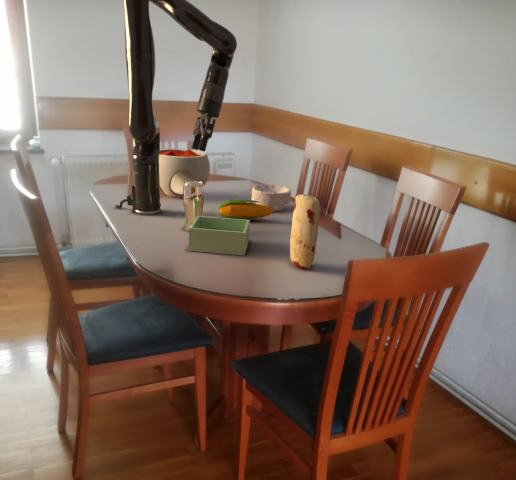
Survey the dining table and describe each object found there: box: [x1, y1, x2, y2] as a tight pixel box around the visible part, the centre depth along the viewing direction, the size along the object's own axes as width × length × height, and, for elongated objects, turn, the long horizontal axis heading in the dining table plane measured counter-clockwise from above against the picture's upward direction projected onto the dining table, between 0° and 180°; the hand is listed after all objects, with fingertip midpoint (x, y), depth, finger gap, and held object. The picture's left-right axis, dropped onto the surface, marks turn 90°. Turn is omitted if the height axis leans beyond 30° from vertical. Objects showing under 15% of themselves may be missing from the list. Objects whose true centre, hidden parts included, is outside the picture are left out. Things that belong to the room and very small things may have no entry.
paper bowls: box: [251, 184, 292, 212], centre depth 205 cm, size 15×15×8 cm
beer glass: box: [182, 181, 205, 232], centre depth 171 cm, size 7×7×15 cm
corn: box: [218, 199, 274, 222], centre depth 187 cm, size 7×8×20 cm
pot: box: [159, 148, 211, 199], centre depth 212 cm, size 24×24×18 cm
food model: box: [289, 193, 321, 270], centre depth 144 cm, size 10×7×20 cm
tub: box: [188, 215, 251, 256], centre depth 159 cm, size 17×15×7 cm
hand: (198, 150), depth 175 cm, fingers open, 8 cm apart
